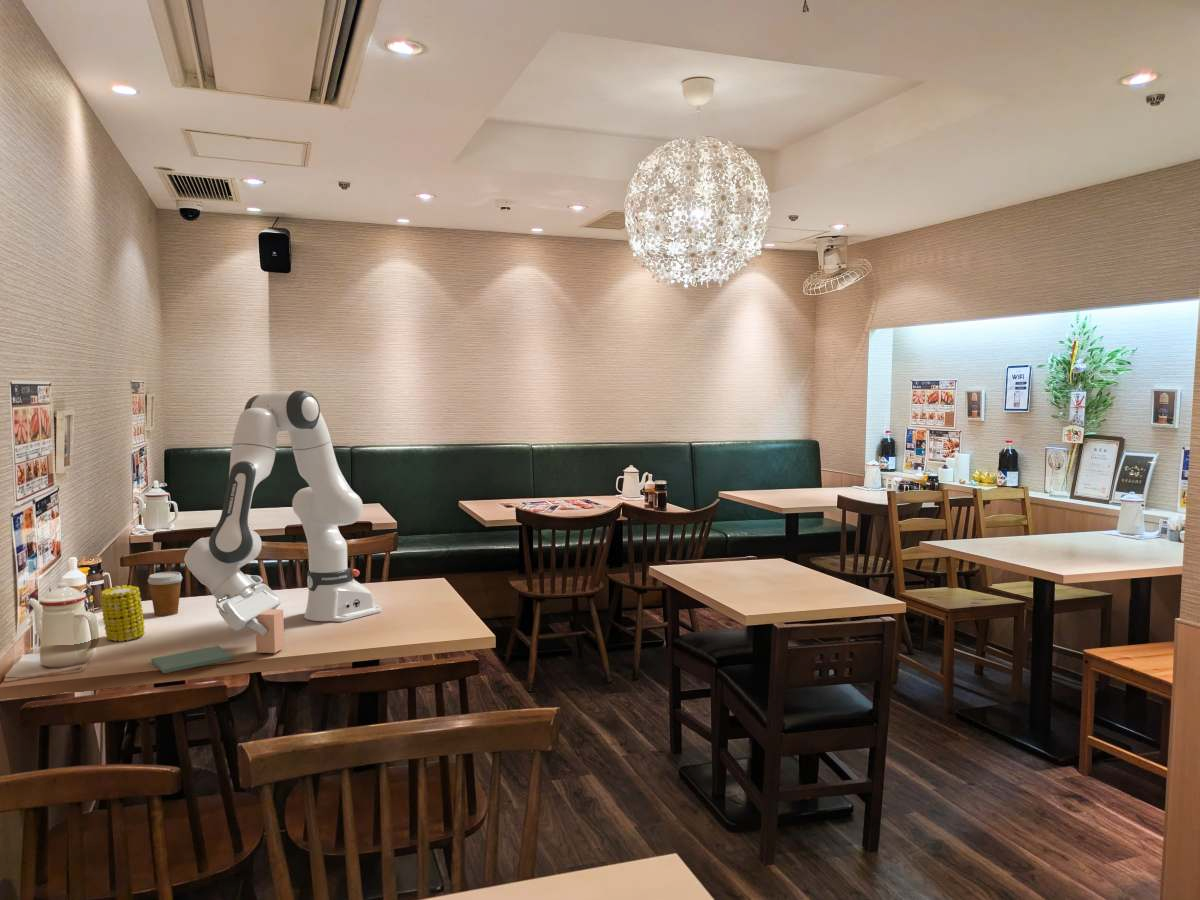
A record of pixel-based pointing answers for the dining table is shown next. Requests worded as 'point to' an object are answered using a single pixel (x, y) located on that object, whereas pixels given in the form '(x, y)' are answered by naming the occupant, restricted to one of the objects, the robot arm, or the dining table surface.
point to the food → (122, 613)
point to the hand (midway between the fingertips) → (272, 629)
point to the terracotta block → (270, 631)
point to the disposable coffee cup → (165, 592)
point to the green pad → (191, 659)
